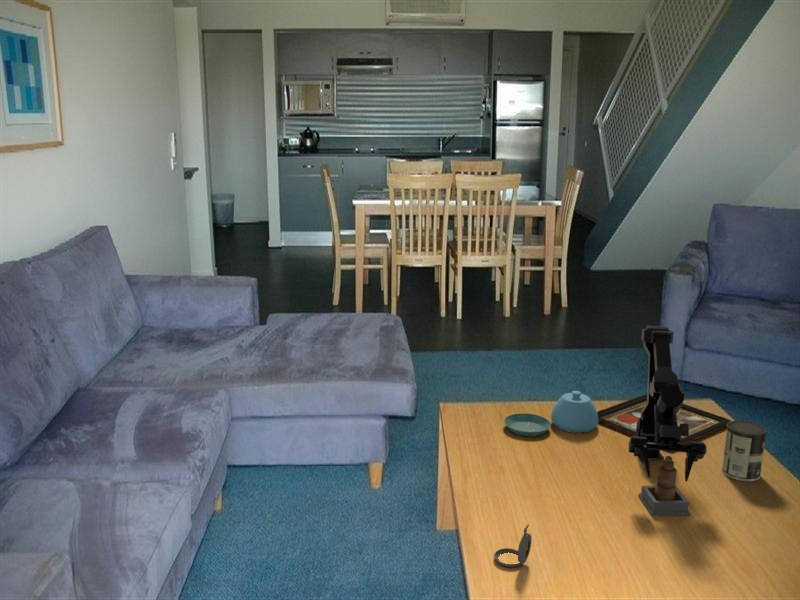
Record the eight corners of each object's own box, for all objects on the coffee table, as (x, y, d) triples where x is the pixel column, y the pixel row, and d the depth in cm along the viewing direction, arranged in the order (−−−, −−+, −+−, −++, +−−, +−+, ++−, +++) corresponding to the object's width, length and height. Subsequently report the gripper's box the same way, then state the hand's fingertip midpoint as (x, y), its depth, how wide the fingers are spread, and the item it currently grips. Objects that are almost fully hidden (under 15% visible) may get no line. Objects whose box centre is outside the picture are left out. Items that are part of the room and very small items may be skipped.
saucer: (495, 431, 246) (496, 424, 245) (516, 417, 257) (516, 409, 257) (538, 443, 237) (538, 435, 237) (557, 427, 249) (558, 420, 249)
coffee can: (755, 467, 224) (762, 421, 220) (764, 483, 214) (771, 436, 210) (717, 463, 226) (723, 418, 222) (725, 479, 216) (731, 432, 212)
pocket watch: (491, 552, 178) (493, 513, 176) (527, 551, 179) (529, 512, 177) (498, 573, 171) (501, 532, 168) (536, 572, 171) (539, 531, 169)
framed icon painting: (639, 394, 280) (640, 387, 279) (736, 424, 256) (737, 416, 255) (581, 424, 254) (581, 416, 253) (682, 460, 230) (683, 451, 229)
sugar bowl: (549, 415, 259) (551, 382, 256) (595, 418, 257) (597, 385, 254) (551, 433, 245) (554, 398, 242) (600, 436, 243) (603, 402, 240)
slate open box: (638, 496, 206) (639, 484, 205) (675, 495, 206) (676, 484, 205) (651, 515, 196) (652, 503, 195) (690, 515, 196) (691, 503, 196)
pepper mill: (649, 501, 201) (654, 455, 198) (661, 495, 204) (666, 450, 201) (666, 509, 197) (671, 462, 194) (678, 503, 200) (683, 457, 197)
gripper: (633, 407, 200) (634, 465, 193) (709, 413, 197) (713, 472, 189) (628, 423, 210) (628, 479, 202) (700, 429, 206) (703, 486, 199)
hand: (667, 479), depth 198 cm, fingers open, 9 cm apart
